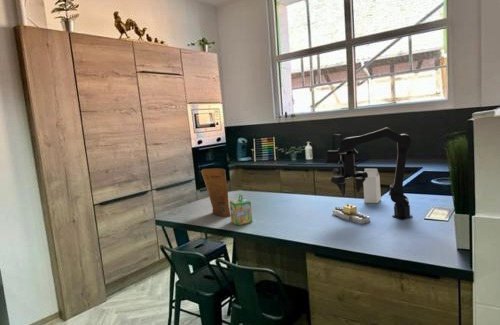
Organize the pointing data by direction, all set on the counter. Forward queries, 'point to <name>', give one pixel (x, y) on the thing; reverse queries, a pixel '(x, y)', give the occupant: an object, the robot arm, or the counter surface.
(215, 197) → the pancake mix bag
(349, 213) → the studded golden block
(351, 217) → the chrome-studded grey beam
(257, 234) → the counter surface
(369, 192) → the milk carton
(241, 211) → the chalk box
